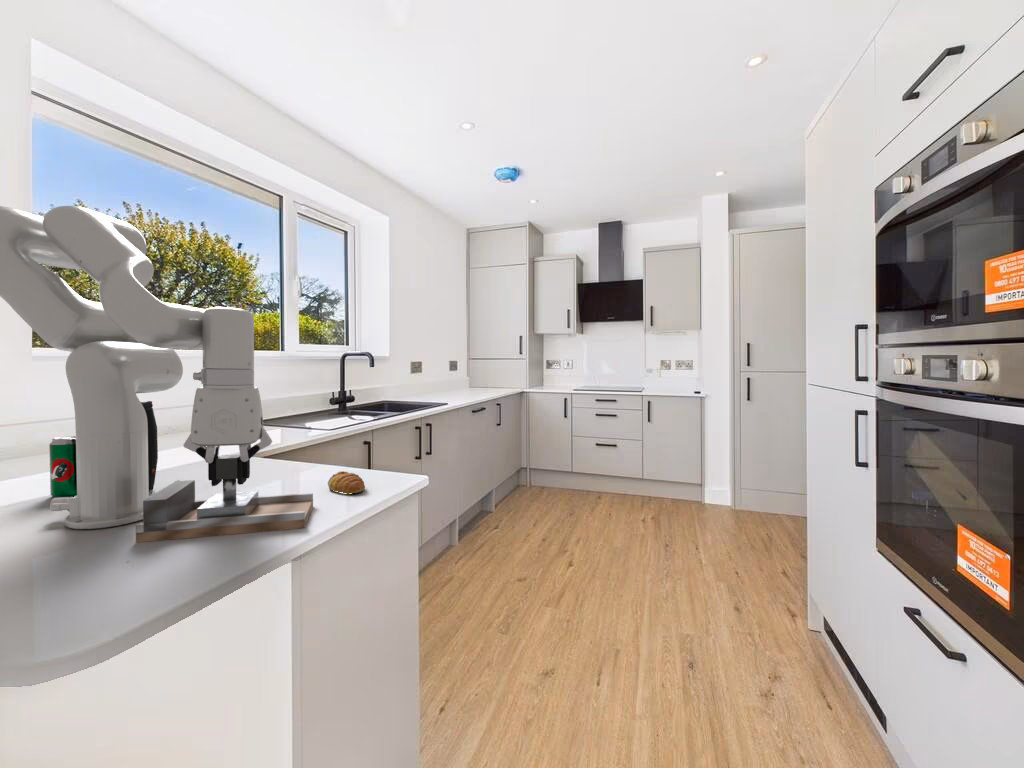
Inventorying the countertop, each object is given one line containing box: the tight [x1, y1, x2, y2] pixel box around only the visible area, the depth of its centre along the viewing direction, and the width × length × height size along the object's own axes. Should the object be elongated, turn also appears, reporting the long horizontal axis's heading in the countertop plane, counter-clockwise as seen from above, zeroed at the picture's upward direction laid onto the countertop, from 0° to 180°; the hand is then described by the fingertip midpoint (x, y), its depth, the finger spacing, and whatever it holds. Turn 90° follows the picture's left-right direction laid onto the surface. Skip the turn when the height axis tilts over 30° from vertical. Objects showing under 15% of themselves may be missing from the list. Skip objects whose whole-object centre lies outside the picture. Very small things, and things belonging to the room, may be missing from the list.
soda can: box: [48, 435, 77, 498], centre depth 91 cm, size 5×5×12 cm
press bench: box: [135, 479, 314, 543], centre depth 78 cm, size 24×12×6 cm, turn 108°
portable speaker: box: [140, 400, 159, 491], centre depth 93 cm, size 9×9×20 cm
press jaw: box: [197, 453, 259, 519], centre depth 77 cm, size 7×9×10 cm
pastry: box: [327, 470, 366, 494], centre depth 99 cm, size 9×7×4 cm
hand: (229, 482), depth 77 cm, fingers closed on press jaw, 3 cm apart
